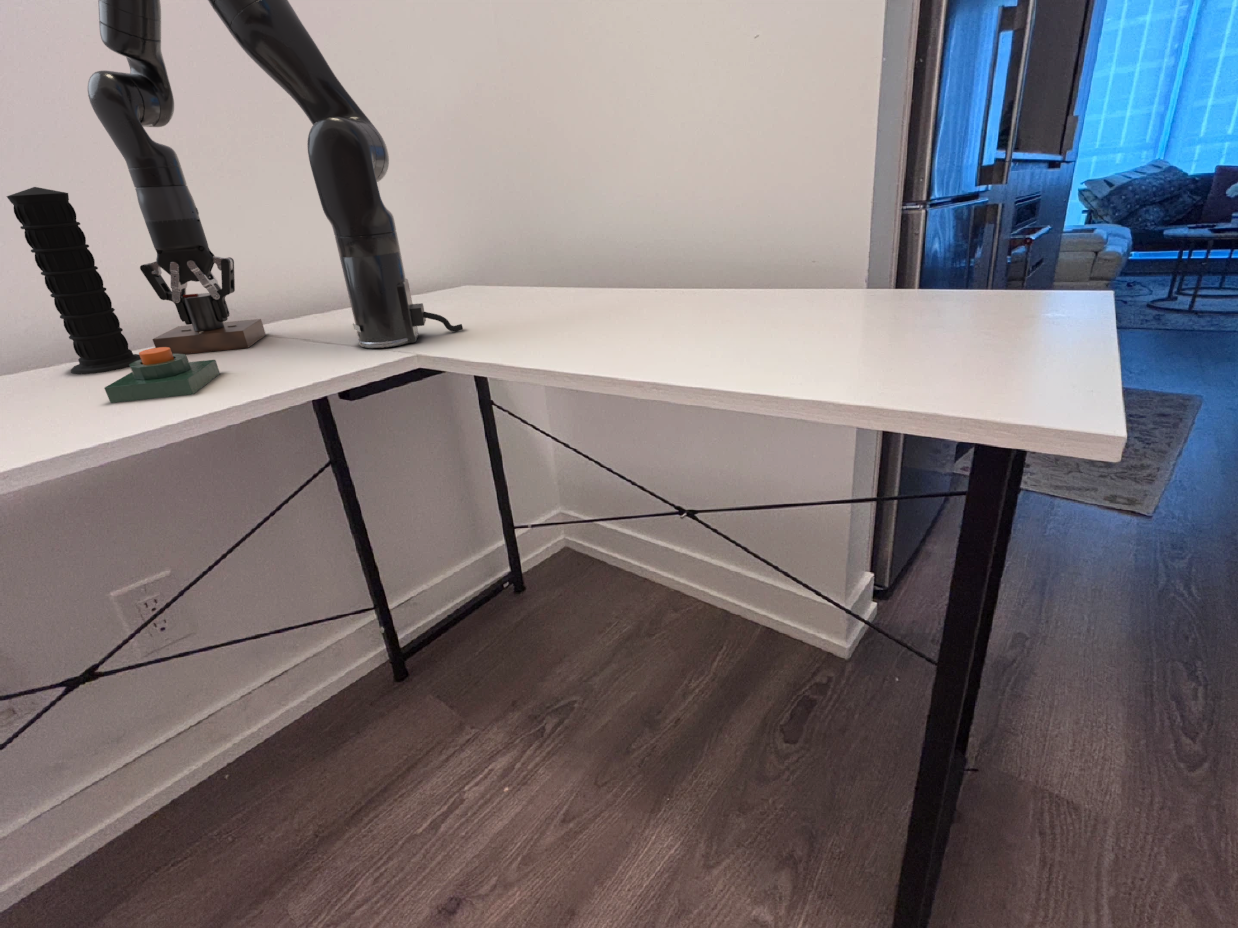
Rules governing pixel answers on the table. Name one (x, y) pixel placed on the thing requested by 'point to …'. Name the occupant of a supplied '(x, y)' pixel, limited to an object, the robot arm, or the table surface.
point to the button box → (162, 379)
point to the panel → (212, 337)
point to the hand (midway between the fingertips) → (207, 321)
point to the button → (156, 355)
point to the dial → (202, 312)
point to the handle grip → (72, 280)
